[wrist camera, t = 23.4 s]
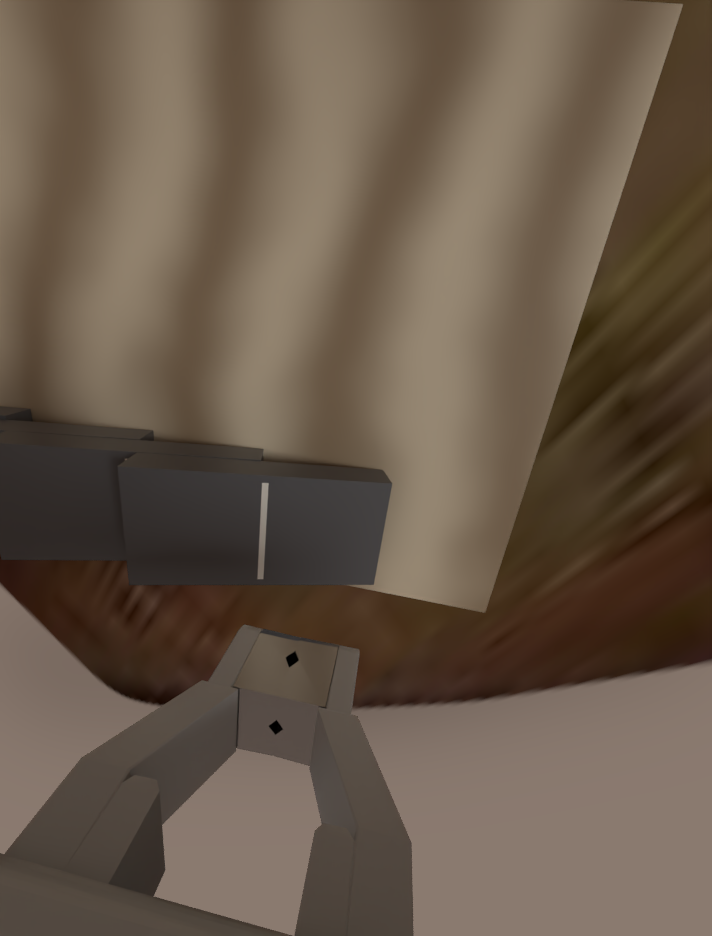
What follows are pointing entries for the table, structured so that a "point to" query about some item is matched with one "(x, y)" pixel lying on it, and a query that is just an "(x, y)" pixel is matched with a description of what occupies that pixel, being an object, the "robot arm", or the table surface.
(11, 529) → the domino
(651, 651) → the table surface
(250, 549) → the domino
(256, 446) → the birch board
